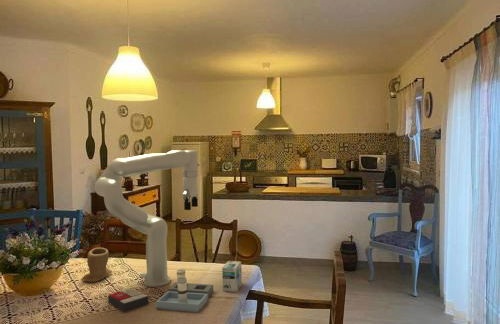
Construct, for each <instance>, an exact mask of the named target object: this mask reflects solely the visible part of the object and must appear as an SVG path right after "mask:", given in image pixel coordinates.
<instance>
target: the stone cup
mask: <svg viewBox="0 0 500 324" xmlns="http://www.w3.org/2000/svg"><path fill="white" fill-rule="evenodd" d="M109 254H110V252H109V250H108V249H107V248H104V247H95V248H92V249H91V250H89V251H88V253H87V260H86V261H87V266H88V269H89V273H87V274H85V275H84V276H82V278H81V280H83V281H84V282H98V281H100V280H103V279H104V278H105V277H107V276H109V275H110V274H111V273H113V271H112V270H111V269H110V268H109V267H107V265H108V261H109V258H110V257H109V256H110V255H109Z"/></svg>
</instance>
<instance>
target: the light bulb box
mask: <svg viewBox="0 0 500 324" xmlns="http://www.w3.org/2000/svg"><path fill="white" fill-rule="evenodd" d="M221 272H222V292H234V293H236V292H238V291H239V289H240V287H241V286H242V284H243V281H242V279H243V278H242V261H234V260H228V261H227V262H226V263H225V264H224V265H223V266H222V267H221Z"/></svg>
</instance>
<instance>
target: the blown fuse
mask: <svg viewBox="0 0 500 324" xmlns="http://www.w3.org/2000/svg"><path fill="white" fill-rule="evenodd" d="M187 281H188V279H187V277H185V278H184V277H182V278H178V279H177V278H176V282H177V283H178V302H181V303H187V283H188V282H187Z"/></svg>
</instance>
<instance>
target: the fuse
mask: <svg viewBox="0 0 500 324" xmlns="http://www.w3.org/2000/svg"><path fill="white" fill-rule="evenodd" d="M182 277H184V278H186V270H185V269H183V268H179V269H176V280H177V279H178V278H182ZM177 288H178V283H177Z"/></svg>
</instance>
